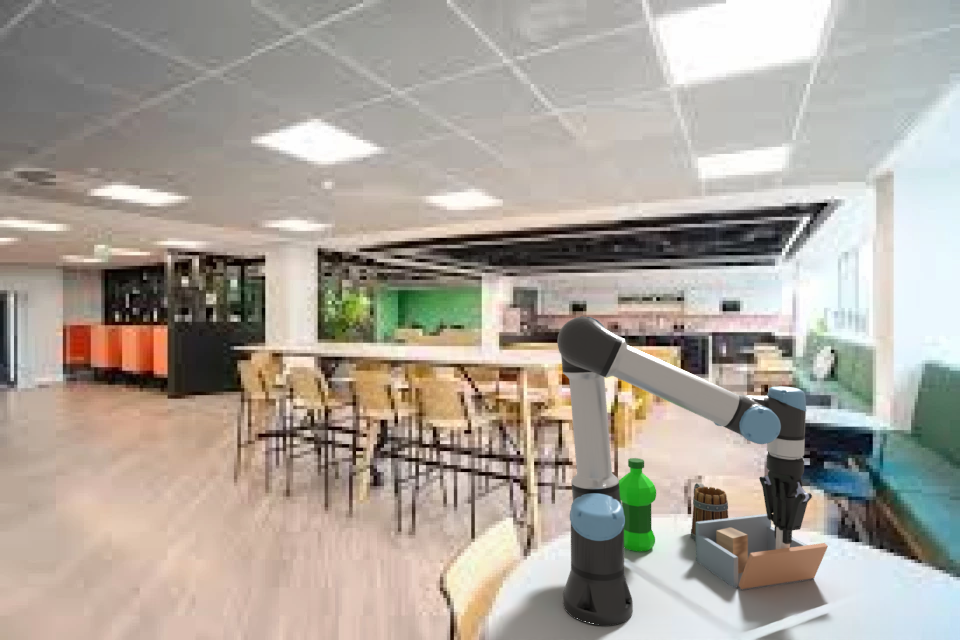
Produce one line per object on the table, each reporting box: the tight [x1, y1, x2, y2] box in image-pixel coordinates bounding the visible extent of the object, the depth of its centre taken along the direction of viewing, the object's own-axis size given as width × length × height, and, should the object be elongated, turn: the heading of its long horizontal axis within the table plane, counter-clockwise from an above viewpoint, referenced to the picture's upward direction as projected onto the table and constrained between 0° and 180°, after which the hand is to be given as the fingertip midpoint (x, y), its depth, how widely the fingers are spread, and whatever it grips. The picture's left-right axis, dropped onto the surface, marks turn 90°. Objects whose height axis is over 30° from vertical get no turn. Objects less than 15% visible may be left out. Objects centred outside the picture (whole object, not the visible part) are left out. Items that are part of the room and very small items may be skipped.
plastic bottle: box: [619, 457, 657, 553], centre depth 146 cm, size 10×10×25 cm
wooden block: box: [716, 527, 748, 574], centre depth 132 cm, size 5×5×9 cm
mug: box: [690, 482, 729, 543], centre depth 152 cm, size 16×11×15 cm
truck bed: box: [695, 513, 808, 589], centre depth 132 cm, size 22×14×12 cm, turn 104°
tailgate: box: [736, 542, 828, 591], centre depth 123 cm, size 20×1×11 cm, turn 104°
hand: (782, 554), depth 123 cm, fingers closed
